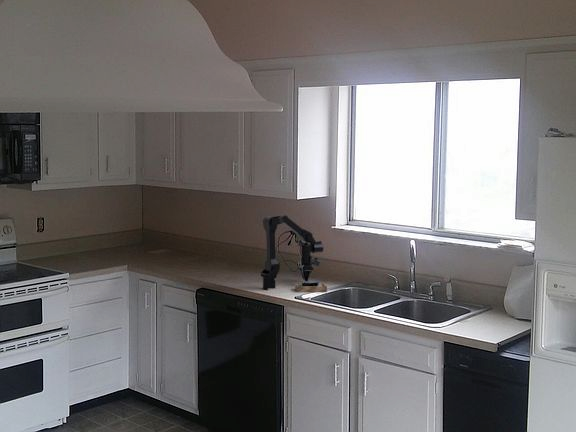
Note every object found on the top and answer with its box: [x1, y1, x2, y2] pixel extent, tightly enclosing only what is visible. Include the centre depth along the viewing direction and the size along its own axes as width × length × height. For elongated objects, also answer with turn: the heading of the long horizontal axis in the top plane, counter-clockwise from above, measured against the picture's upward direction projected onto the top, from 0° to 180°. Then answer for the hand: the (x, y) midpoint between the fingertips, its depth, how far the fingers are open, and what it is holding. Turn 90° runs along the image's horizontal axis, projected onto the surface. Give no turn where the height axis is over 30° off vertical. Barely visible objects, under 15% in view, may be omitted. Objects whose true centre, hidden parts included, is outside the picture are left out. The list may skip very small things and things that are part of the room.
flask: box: [301, 280, 320, 286], centre depth 418 cm, size 9×3×11 cm
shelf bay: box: [294, 282, 328, 293], centre depth 406 cm, size 16×12×3 cm
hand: (305, 280), depth 427 cm, fingers open, 8 cm apart
